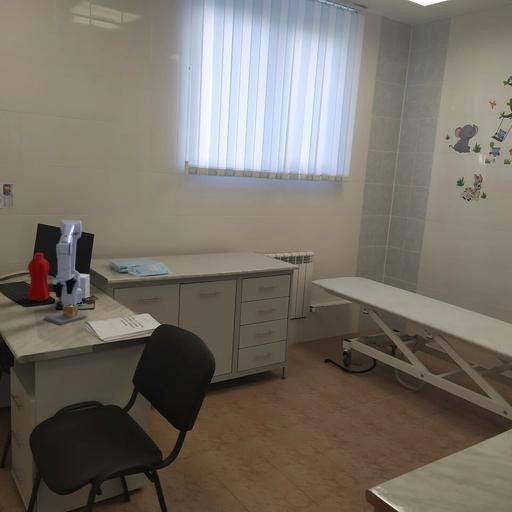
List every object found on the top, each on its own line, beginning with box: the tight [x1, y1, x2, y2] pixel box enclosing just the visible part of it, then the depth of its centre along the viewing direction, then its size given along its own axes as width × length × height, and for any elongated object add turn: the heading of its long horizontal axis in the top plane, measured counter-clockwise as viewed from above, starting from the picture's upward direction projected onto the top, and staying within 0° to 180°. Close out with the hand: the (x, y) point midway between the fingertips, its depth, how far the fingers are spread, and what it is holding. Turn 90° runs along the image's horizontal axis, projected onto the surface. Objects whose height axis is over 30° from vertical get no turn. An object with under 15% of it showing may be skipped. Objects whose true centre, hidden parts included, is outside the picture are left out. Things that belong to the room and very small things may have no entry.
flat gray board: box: [44, 311, 87, 325], centre depth 235 cm, size 14×12×1 cm
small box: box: [79, 273, 91, 298], centre depth 267 cm, size 8×6×13 cm
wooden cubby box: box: [62, 304, 79, 318], centre depth 236 cm, size 5×5×5 cm
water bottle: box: [26, 252, 51, 300], centre depth 260 cm, size 9×11×25 cm
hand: (64, 295), depth 236 cm, fingers open, 7 cm apart
